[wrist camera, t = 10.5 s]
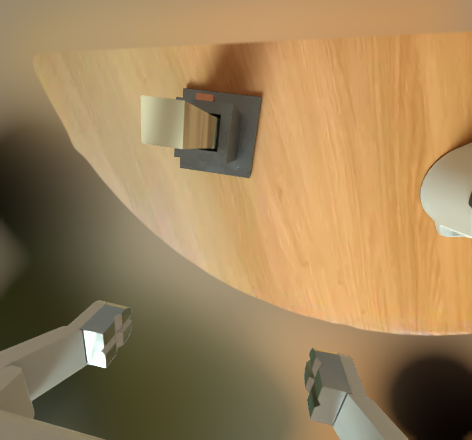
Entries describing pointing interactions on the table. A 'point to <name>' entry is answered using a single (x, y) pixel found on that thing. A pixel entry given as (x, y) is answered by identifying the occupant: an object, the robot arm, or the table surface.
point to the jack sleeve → (224, 133)
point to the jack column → (177, 124)
